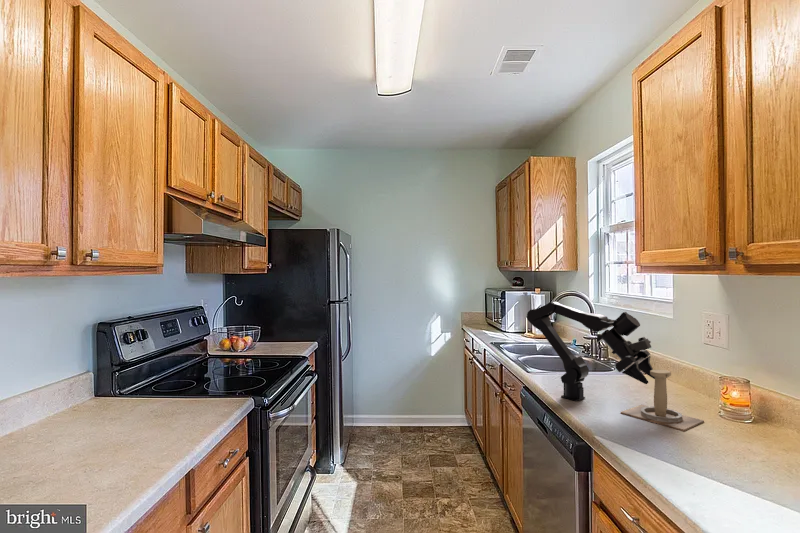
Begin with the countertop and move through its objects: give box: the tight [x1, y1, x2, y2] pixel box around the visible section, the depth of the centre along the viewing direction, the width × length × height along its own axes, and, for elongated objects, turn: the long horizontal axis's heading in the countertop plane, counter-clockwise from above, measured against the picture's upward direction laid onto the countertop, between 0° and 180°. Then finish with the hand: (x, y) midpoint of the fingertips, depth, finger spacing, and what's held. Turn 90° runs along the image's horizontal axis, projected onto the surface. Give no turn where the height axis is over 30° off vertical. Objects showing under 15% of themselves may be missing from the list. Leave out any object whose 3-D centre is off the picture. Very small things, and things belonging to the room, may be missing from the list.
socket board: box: [620, 404, 705, 432], centre depth 147 cm, size 20×14×2 cm
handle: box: [650, 369, 672, 417], centre depth 147 cm, size 5×6×15 cm
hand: (651, 380), depth 149 cm, fingers open, 9 cm apart
